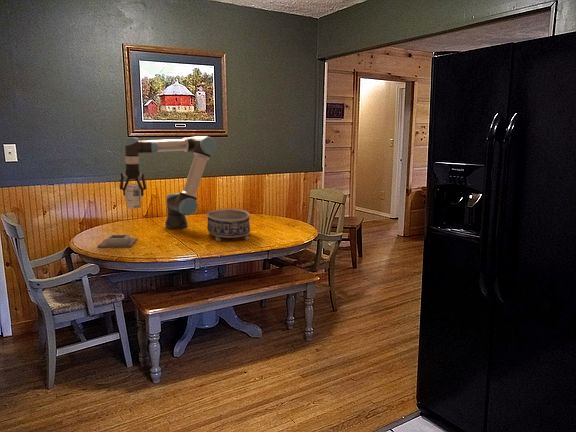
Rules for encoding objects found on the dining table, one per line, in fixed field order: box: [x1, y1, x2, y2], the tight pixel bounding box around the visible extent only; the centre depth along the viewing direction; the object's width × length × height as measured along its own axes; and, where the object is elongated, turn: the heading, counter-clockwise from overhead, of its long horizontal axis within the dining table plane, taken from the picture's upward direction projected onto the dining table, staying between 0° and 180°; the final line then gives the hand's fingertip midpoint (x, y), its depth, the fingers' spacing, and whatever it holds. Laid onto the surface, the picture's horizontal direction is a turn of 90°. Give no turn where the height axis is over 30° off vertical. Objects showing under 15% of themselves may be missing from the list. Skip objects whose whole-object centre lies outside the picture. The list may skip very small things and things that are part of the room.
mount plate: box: [97, 233, 139, 249], centre depth 258 cm, size 18×18×4 cm
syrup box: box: [126, 183, 142, 210], centre depth 270 cm, size 6×6×14 cm
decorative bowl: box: [206, 208, 251, 242], centre depth 280 cm, size 42×27×15 cm, turn 19°
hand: (133, 201), depth 270 cm, fingers closed on syrup box, 8 cm apart
